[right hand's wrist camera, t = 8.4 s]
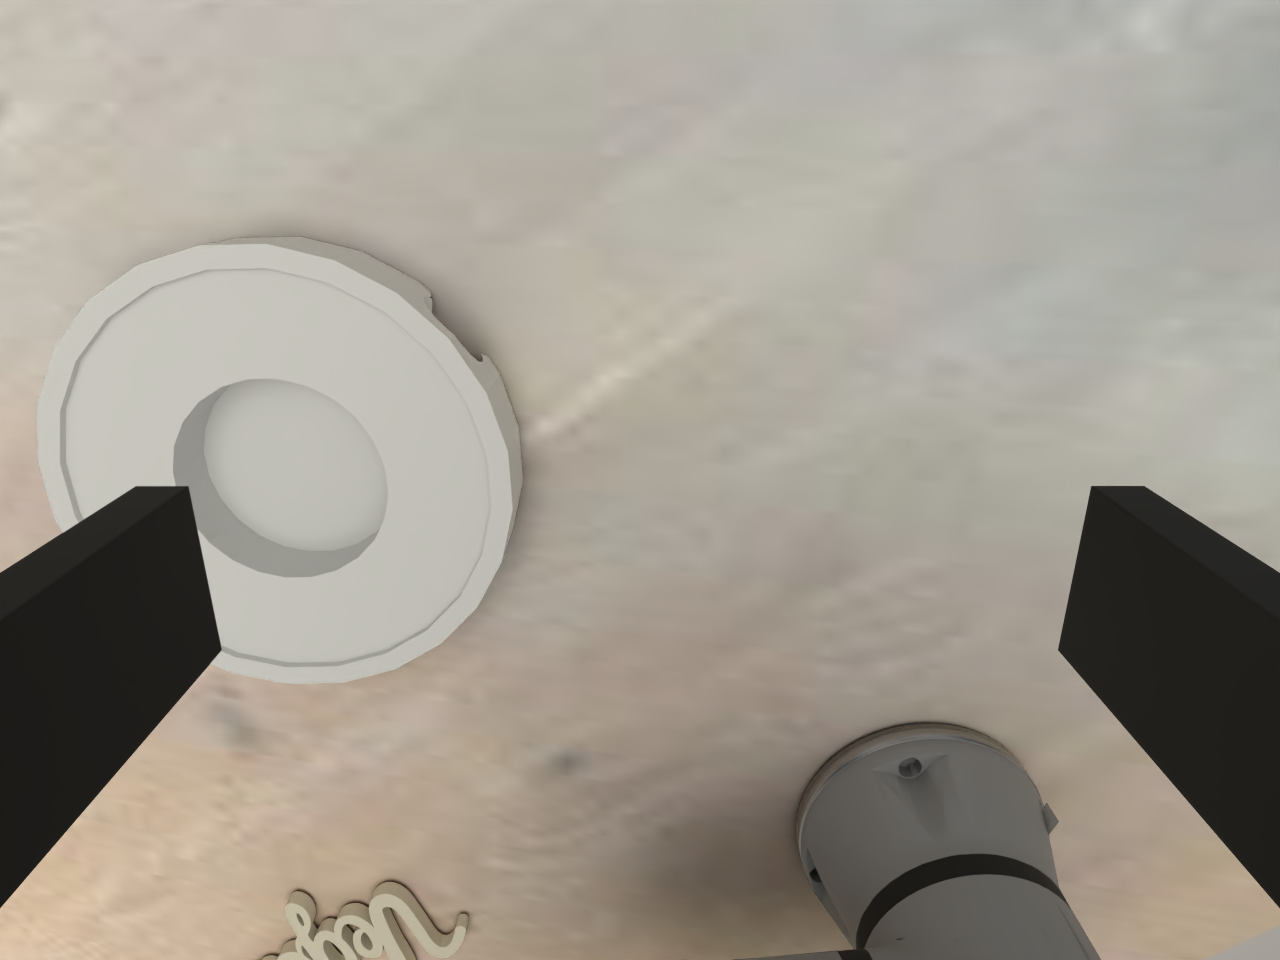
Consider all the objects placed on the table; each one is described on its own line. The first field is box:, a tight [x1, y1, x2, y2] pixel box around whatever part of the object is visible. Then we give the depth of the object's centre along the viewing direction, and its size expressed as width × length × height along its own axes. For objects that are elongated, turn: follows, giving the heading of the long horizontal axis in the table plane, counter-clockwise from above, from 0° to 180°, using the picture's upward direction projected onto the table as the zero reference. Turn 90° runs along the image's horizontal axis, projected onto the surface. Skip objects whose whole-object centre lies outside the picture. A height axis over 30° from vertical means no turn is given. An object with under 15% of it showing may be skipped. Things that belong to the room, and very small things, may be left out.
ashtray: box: [37, 236, 523, 684], centre depth 43 cm, size 23×23×4 cm
